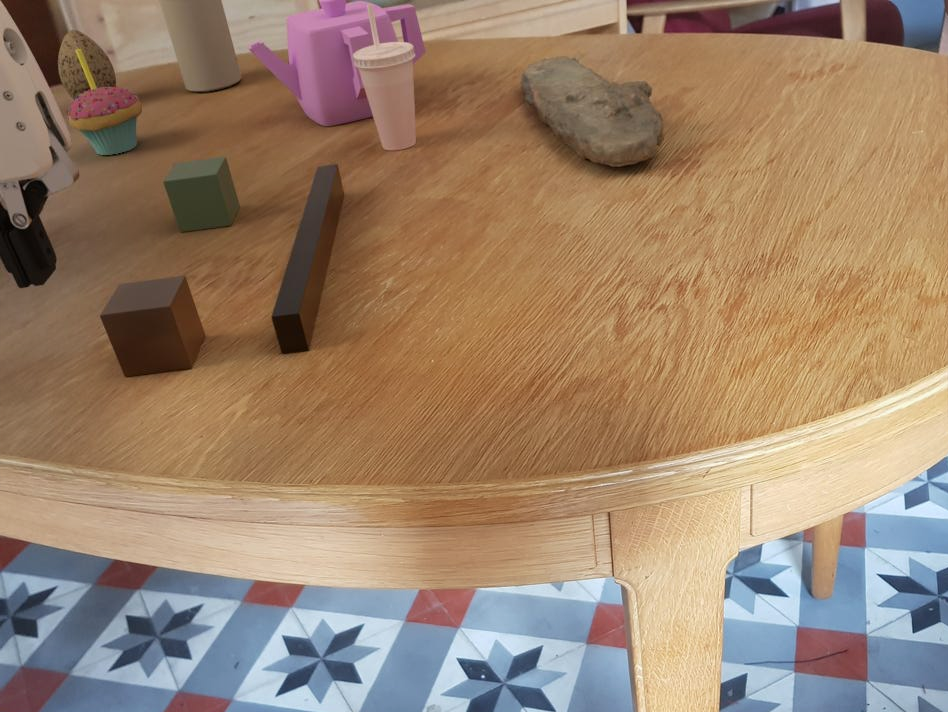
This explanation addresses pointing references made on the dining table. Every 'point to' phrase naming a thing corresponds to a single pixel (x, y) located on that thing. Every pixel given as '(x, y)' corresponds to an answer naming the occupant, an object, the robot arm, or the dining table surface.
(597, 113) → the long grey stone
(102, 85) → the decorative egg
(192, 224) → the green block
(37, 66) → the robot arm
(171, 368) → the walnut block
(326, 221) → the rail
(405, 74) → the smoothie
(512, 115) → the dining table surface
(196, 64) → the travel mug
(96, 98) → the cupcake
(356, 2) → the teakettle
